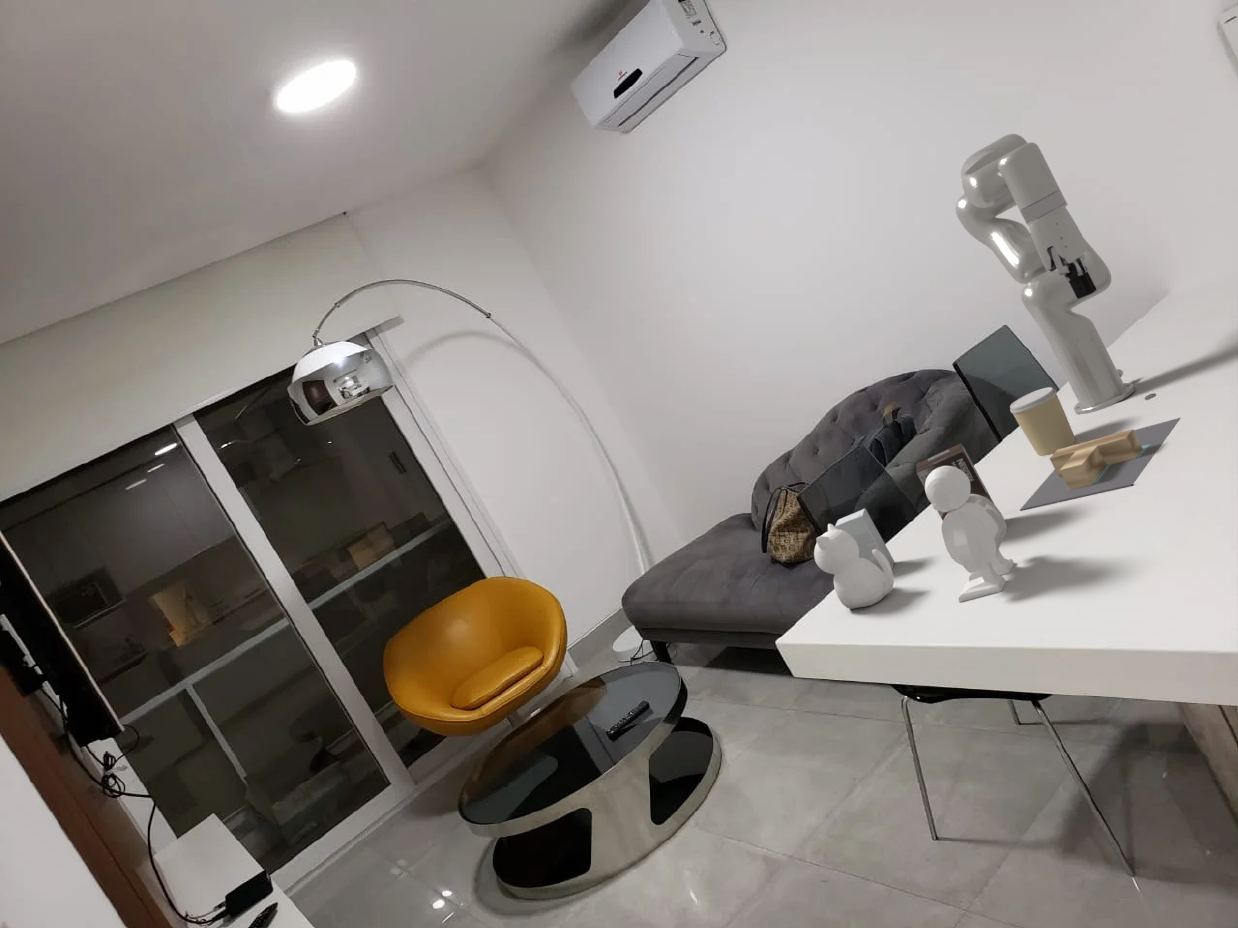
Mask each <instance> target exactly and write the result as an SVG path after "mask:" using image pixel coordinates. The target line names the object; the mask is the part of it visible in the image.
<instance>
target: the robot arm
mask: <svg viewBox="0 0 1238 928" xmlns="http://www.w3.org/2000/svg"><path fill="white" fill-rule="evenodd" d="M960 172H961V173H960V176H961V184H962V190H963V192H964V194H962V195H961V197H959V199H958V200H957V201H956V203H955V214H956V216H957V218H958V221H959V222H960V223H961V224H960V225H962V227H963V228H964V229H965V230H966V232H967V233H968V234H969V235H970V236H971V237H973V238H974V239H975V240H976V241H978V242H980V243H981V244H983V245H985V246H986V247H987V248H988V249H990V250H991V251H992V252H993V254H994V255H995V256H996V258H997V259H998V261H999V262H1000V264H1002V266H1003V267H1004V268H1005V270H1006V272H1007V273H1008V274H1009V275H1010V277H1012V278H1013V279H1014V281H1016V282H1017V283H1019V284H1022V285H1024V287H1023V288H1022V290H1021V293H1020V295H1021V296H1020V298H1021V301H1022V304H1023V305H1024V307H1025V308H1026V310H1027V312H1028V313H1029V314H1030V316H1032V319H1034V321H1035V322H1036V324H1037V325H1038V326H1039V328H1040V330H1041V331H1042V333H1043V335H1044V337H1045V339H1046V340H1047V342H1048V345H1049V346H1050V348H1051V350H1052V352H1053V354H1054V356H1055V358H1056V360H1057V362H1058V364H1059V366H1060V368H1061V370H1062V372H1063V374H1064V375H1065V377H1066V380H1067V382H1068V384H1069V385H1070V387H1071V390H1072V391H1073V394H1074V396H1075V397H1076V399H1077V403H1076V404H1075V405H1074V406H1073V410H1074V412H1075V414H1077V415H1084V414H1085V415H1086V414H1091V413H1093V412H1097V411H1101V410H1102V409H1105V408H1108V407H1110V406H1112V405H1116V404H1117V403H1119V402H1122V401H1123V400H1125V399H1126V398H1129V396H1130V395H1132V394H1133V393H1134V392H1135V390H1136V388H1135V385H1134V384H1133V383H1130V382H1127V383H1125V382H1124V381H1123V380H1122V377H1123V375H1124V372H1123V370H1122V369H1119V368H1117V367H1116V366H1115V363H1114V362H1113V359H1112V358H1111V356H1110V353H1109V352H1108V350H1107V348H1106V346H1105V344H1104V342H1103V339H1102V338H1101V336H1100V334H1099V332H1098V330H1097V328H1096V326H1095V324H1094V323H1093V321H1092V320H1091V319H1090V318H1089V317H1087V316H1085V315H1083V314H1080V313H1077V312H1075V311H1072V309H1073V308H1075V307H1077V306H1078V305H1080V304H1082V303H1084V302H1086V301H1088V300H1090V299H1092V298H1094V297H1095V296H1098V295H1099V294H1101V293H1103V292H1105V291H1106V290H1107V289H1108V288H1109V287H1110V285H1111V283H1112V274H1111V272H1110V269H1109V267H1108V266H1107V264H1106V263H1105V261H1104V260H1103V259H1102V258H1101V256H1100V255H1099V254H1098V253H1097V252H1096V250H1095V249H1094V248H1093V247H1092V246H1091V244H1090V243H1089V242H1088V241H1087V240H1086V239H1085V238H1084V237H1083V234H1082V233H1081V230H1080V229H1079V227H1078V225H1077V223H1076V221H1075V220H1074V218H1073V217H1072V215H1071V214H1070V212H1069V211H1068V209H1067V206H1068V203H1067V201H1066V198H1065V197H1064V194H1063V192H1062V191H1061V189H1060V186H1059V185H1058V182H1057V180H1056V178H1055V177H1054V174H1053V173H1052V171H1051V168H1050V166H1049V164H1048V162H1047V161H1046V158H1045V156H1044V154H1043V152H1042V150H1041V148H1040V147H1039V145H1038V144H1037V143H1036V142H1027V140H1026V139H1025V138H1024V137H1022V136H1021V135H1019V134H1016V133H1008V134H1007V135H1004V136H1002V137H1001V138H999V139H997V140H995V141H994V142H992V143H990V144H988V145H986V146H985V147H984V148H981V149H979V150H977V151H976V152H974V153H972V154H971V155H970V156H969V157H968V158H967V159H966V160H965V161H964V163H963V164H962V167H961V170H960ZM1016 206H1017V208H1018V210H1019V211H1020V214H1021V216H1022V218H1023V220H1024V222H1025V224H1026V226H1027V227H1028V228H1029V229H1028V228H1027V227H1026V226H1025V224H1023V223H1022V222H1019V221H1016V220H1013V219H1009V218H1003V217H1001V218H999V217H997V216H999V215H1001V214H1003V213H1004V212H1006V211H1008V210H1010V209H1012V208H1015V207H1016Z"/></svg>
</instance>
